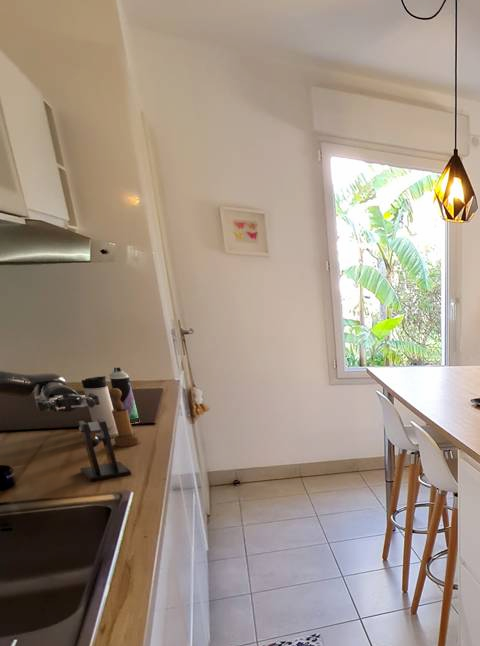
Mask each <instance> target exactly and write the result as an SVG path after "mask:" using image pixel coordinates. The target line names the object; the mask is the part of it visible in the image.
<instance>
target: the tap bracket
mask: <svg viewBox="0 0 480 646" xmlns="http://www.w3.org/2000/svg"><path fill="white" fill-rule="evenodd" d="M97 421H98V423H99V426H100V429H101V431H100V432H101V436H102V439H101V440H102V444H103V447H104V451H105V455H106V458H107V461H108V462H107V463H102V464H99V462H98V458H97V455H96V452H95V447H93V444H92V440H91V436H90V433H89V429H88V425H87V422H85V421H84V420H79V421H78V425H79V427H78V431H79V432H80V433H81V436H82V440H83V439H84V443H85V445H84V446H85V450H86V453H87V457H88V461H89V464H90V466H87V467H86V466H85V467H79V468H80V473H81V475H83V476H84V477H85V478H86V479H87V480H88V481H89V482H90V483H96V482H101V481H106V480H111V479H117V478H122V477H126V476H131V475H132V472H131V470H130V469H129V468H128V467H126V466H125V464H123V463H122V462H121V461H117V458H116V456H115V452H114V448H113V444H112V439H111V438H110V436H109V432H108V425H107V424H106V421H104V420H103V419H97Z"/></svg>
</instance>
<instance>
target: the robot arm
mask: <svg viewBox="0 0 480 646" xmlns="http://www.w3.org/2000/svg"><path fill="white" fill-rule="evenodd" d="M33 392H34V401H35V404H36V408H37V410H38V411H39V412H44V411H45V410H47V411H50V412H53V413H55V412H56V413H57V412H62V413H68V412H72V411H75V410H76V409H77V408H85V407H88V406H89V407H90V408H92V407H94V406H95V405H99V404H100V402H99V398H98V396H97V395H94V394H88V397H86V396H85V394H79V393H78V392H77V391H76V390H74V389H73V388H71V387H70V386H67V380H66V379H65V378H64V377H63V376H62V375H60V374H57V373H54V372H53V373H52V372H42V373H18V372H12V371H6V370H0V395H7V396H12V397H13V396H14V397H22V398H23V397H24V398H26V397H29V396H31V395H32V393H33ZM89 407H88V408H89Z"/></svg>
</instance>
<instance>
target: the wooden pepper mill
mask: <svg viewBox="0 0 480 646" xmlns="http://www.w3.org/2000/svg"><path fill="white" fill-rule="evenodd" d="M109 394H110V397H111V398H112V399H113V401H114V400H115V401H114V402H112V405H113V406H114V407H115V409H113V410H112V413H113V417H114V421H115V424H116V428H117V432H118V435H117V436H116V437H114V438H113V439H114V444H115V447H121V448H124V447H133V446H136V445H139V444H141V438H140V436H139V435H138V434H136V433H135V432H134V431H133V426H132V424H131V423H130V419H129V415H128V410H127V409H122V402H121V401H120V397H121V394H122V392H121V391H120V390H119V389H118V388H113V389H112V388H110V389H109ZM116 409H117V410H116Z"/></svg>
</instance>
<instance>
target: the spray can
mask: <svg viewBox="0 0 480 646" xmlns="http://www.w3.org/2000/svg"><path fill="white" fill-rule="evenodd" d="M109 380H110V385H111V389H113V388H118V389H119V390H120V391H121V392H122V394H121V397H120V401H121V402H122V409H127V410H128V415H129V419H135V418H139V414H138V410H137V406H136V402H135V401H136V400H135V397H134V393H133V389H132V384H131V380H130V376H129V375H128V373H126V372H125V371H123V370H122V369H121V367H113V371H112V372H111V373H110V374H109ZM133 424H139V422H135V423H131V425H133Z"/></svg>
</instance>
